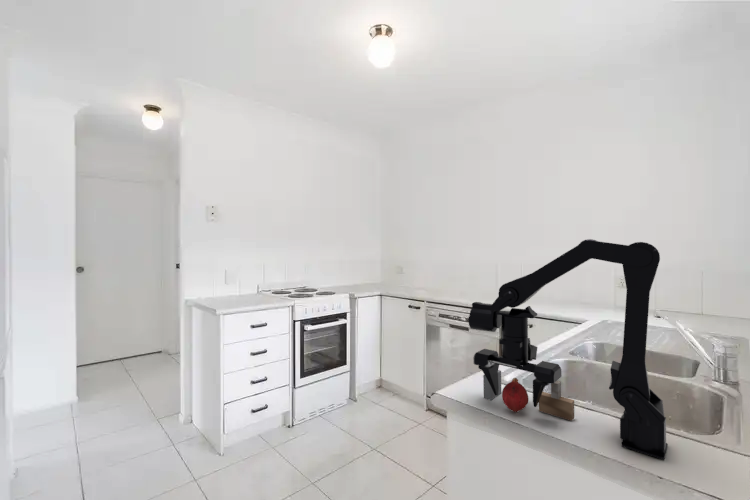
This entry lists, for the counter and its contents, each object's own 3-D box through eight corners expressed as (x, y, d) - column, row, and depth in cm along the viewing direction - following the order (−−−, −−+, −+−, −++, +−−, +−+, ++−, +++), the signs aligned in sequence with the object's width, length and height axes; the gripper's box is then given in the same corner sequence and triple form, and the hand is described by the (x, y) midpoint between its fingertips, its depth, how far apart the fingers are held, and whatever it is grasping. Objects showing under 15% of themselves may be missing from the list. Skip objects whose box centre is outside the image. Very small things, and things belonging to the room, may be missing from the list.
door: (574, 417, 79) (574, 384, 79) (571, 420, 78) (571, 387, 77) (541, 407, 84) (541, 376, 84) (538, 410, 82) (538, 379, 82)
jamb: (501, 393, 93) (501, 370, 93) (490, 400, 89) (490, 376, 89) (494, 390, 94) (493, 368, 94) (483, 398, 90) (483, 375, 90)
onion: (524, 420, 78) (524, 385, 78) (498, 413, 82) (498, 379, 82) (531, 410, 83) (530, 377, 83) (506, 404, 86) (506, 372, 86)
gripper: (568, 334, 81) (569, 401, 82) (492, 323, 94) (493, 380, 95) (552, 344, 73) (553, 418, 74) (472, 330, 86) (472, 393, 87)
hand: (515, 400), depth 82 cm, fingers open, 9 cm apart
